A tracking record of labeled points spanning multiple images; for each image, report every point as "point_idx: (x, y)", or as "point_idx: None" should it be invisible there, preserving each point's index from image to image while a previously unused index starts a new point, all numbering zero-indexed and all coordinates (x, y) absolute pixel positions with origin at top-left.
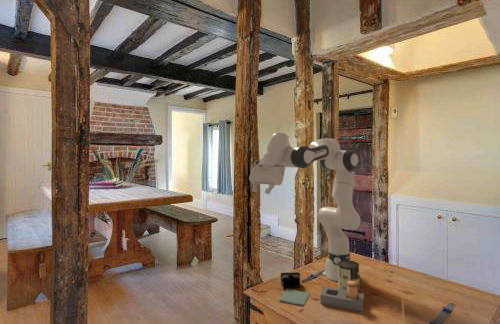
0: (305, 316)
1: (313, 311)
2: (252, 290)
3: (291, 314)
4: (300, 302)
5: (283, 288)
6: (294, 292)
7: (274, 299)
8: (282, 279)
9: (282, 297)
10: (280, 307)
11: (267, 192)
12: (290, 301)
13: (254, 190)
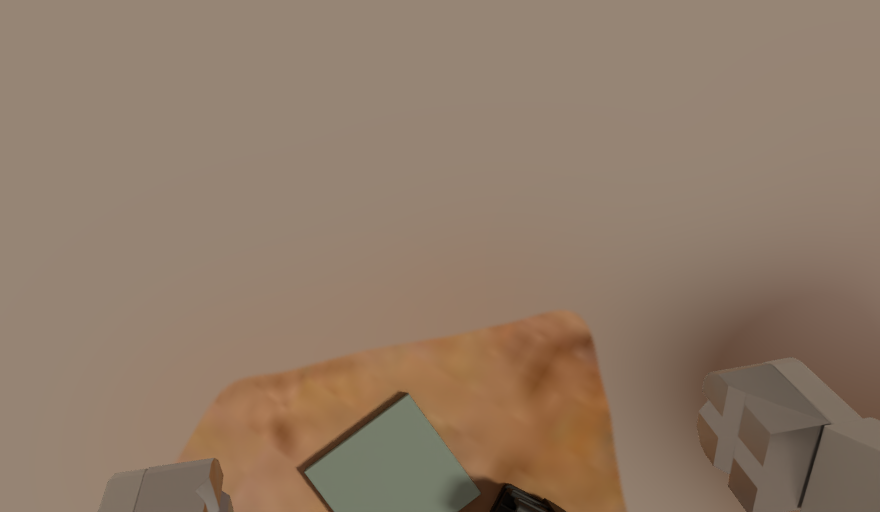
0: (229, 422)
1: (243, 481)
2: (574, 333)
3: (277, 376)
4: (328, 470)
5: (505, 484)
6: (428, 504)
7: (435, 382)
8: (520, 499)
9: (417, 421)
10: (356, 366)
11: (119, 491)
12: (363, 433)
13: (716, 394)
